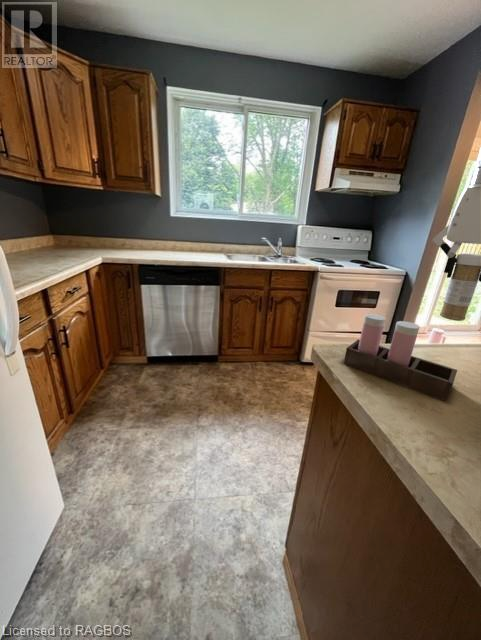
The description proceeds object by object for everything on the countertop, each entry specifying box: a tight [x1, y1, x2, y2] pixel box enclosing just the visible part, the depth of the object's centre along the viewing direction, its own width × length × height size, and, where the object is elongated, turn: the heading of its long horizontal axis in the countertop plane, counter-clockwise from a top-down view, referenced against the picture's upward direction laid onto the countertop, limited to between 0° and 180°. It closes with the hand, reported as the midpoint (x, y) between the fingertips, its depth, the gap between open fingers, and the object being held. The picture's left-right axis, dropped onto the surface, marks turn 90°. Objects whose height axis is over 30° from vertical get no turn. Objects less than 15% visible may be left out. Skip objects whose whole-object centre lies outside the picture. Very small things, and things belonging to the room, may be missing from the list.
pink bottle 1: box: [358, 313, 387, 356], centre depth 71 cm, size 5×5×13 cm
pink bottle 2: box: [387, 320, 420, 367], centre depth 67 cm, size 5×5×13 cm
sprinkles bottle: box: [439, 253, 481, 322], centre depth 56 cm, size 5×5×13 cm
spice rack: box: [343, 338, 458, 402], centre depth 68 cm, size 23×8×5 cm, turn 47°
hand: (464, 277), depth 56 cm, fingers closed on sprinkles bottle, 4 cm apart
